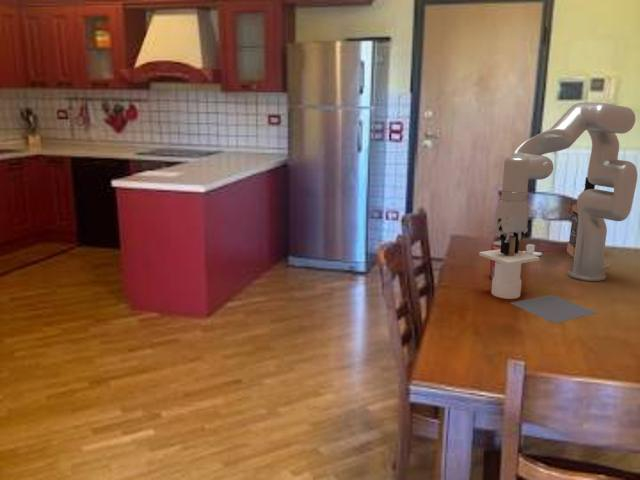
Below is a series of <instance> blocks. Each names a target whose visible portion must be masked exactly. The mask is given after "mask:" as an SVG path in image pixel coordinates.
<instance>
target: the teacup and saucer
mask: <svg viewBox="0 0 640 480" xmlns="http://www.w3.org/2000/svg"><path fill="white" fill-rule="evenodd" d="M525 248H526V250H524V251H522V252H524V253H527V254H531V255H534V256H537V257H541V256H542V252H539V251H538V252H537V251H536V250H535V248H536V245H535V244H530V243H528V244H526V246H525Z"/></svg>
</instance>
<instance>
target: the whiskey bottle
mask: <svg viewBox="0 0 640 480" xmlns="http://www.w3.org/2000/svg"><path fill="white" fill-rule="evenodd" d="M584 181H585V183H584V189H583V191H585V190H588V189H596V188H595V187H596V185H594V184H591V183H590V182H589V181H588V178H587V176H586V177H585V180H584ZM571 208H572V209H571V211H572V218H571V225H570V233H569V239H568V240H569V241H568V243H567V246H566V252H567V254H569V255H570V256H571V257H572V258H574V256H575V247H576V238H577V230H578V207H577V203H575V204H574V205H572V207H571Z"/></svg>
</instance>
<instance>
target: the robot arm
mask: <svg viewBox="0 0 640 480" xmlns="http://www.w3.org/2000/svg"><path fill="white" fill-rule="evenodd" d="M635 123H636V114H635V112H634V110H632V108H630V107H628V106H623V105H616V104H612V103H611V104H610V103H606V102H577V103H575V104H572V105H571V106H570V107H569V108H568V109H567V110H566V112H565V113H563V115H562V116H561V117H560V118H559V119H558V120H557V121H556V123H554V124H553V125H552V126H551V128H549V129H547V130H544V131H542V132H540V133H538V134H536V135H534V136H532V137H530V138H529V139H527V140H525V141H524V142H522V143H520V145H519V146H518V147H517V148H516V149H515V150H514V151H513V152H512V154H511V155H509V156H506V157H505V159H504V162H503V174H502V185H501V186H502V187H501V198H500V200H498V203H497V206H496V210H495V217H494V224H493V229H494V231H493V235H495V236H496V237H498V240H499V241H501V250H500V252H501V253H503V254H505V255H508V254H509V247H510V243H509V242H508V241H509V235H510V234H511V235H512V236H516V242H515V253H518V251H519V248H520V241H522V237H523V236H524V235H525V234H526V233H527V232H528V231H529V228H528V221H529V205H528V200H527V198H528V195H529V192H528V189H529V188H528V187H529V180H536V181H537V180H540V181H541V180H544V179H547V178H548V177H550V176H551V174H553V171H554V163H553V161H552V159H550V158H549V157H548V156H546V155H547V154H551V153H556V152H560V151H563V150H567V149H569V148H570V147H571V146H572V145H574V143H575V142H576V141H577V140H578V139H579V138H580V136H582V134H583V133H584V132H585V131H587V133H588V135H589V136H590V139H591V151H590V157H589V163H588V167H587V176H586V177H587V178H588V181H589V182H590V183H591V184H594V185H595V186H599V187H605V188H606V187H607V188H610V189H613V191H609V190H603V189H596V188H595V189H588V190H585V191H584V190H582V192H580V194H579V195H578V197H577V201H576V204H577V207H578V230H577V238H576V247H575V256H574V257H573V265H572V266H573V267H572V268H570V269H569V270H568V271H567V275H568V276H569V277H571V278H573V279H577V280H580V281H587V282H601V281H604V280H606V278H607V274H606V273H605V272H604V271H605V270H609V269H611V265H610V264H609V263H604V256H605V250H606V249H605V248H606V240H607V234H608V232H607V231H608V229H607V225H606V224H607V223H606V221H605V220H607V221H612V222H613V221H614V222H623V221H625V220H626V219H627V218H628V217H629V215H630V214H631V211H632V207H633V202H634V196H635V192H636V188H637V182H638V169H637V167H636V165H635V164H634V163H633V162H631V161H629V160H624V159H623V160H621V159H618V158H619V157H618V156H619V152H620V142H619V138H618V136H617V134H621V135H622V134H627V133H629V132H630V131H631V130H632V129H633V128H634V126H635V125H636V124H635Z"/></svg>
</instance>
